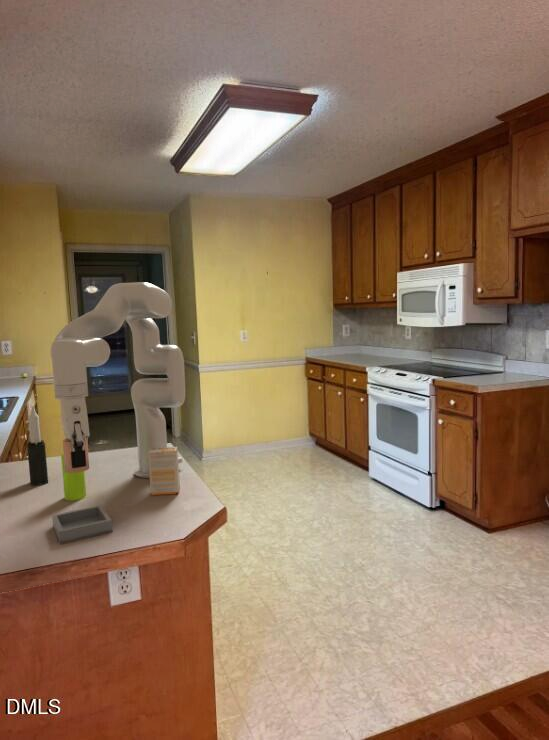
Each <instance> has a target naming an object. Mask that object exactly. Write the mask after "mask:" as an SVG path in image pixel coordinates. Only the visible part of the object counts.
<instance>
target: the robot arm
mask: <svg viewBox="0 0 549 740" xmlns="http://www.w3.org/2000/svg"><path fill="white" fill-rule="evenodd" d="M172 308H173V303H172V298H171V296H170V295H169V293H168V292H167V291H165V290H164V289H162V288H160V287H159V286H157V285H154V284H152V283H149V282H146V281H145V282H143V281H142V282H141V281H140V282H139V281H137V282H121V283H115V284H113V285H111V286H109V288H108V289H107V291H106V292H105V293H104V295H103V296H102V297H101V299H100V300H99V302H98V303H97V304H96V305H95V307H94V309H92V310H91V311H87V312H86V313H85V314H83V315H81V316H79V317H77V318H75V319H74V320H72V321H70V322H68V323H67V324H66V325H64V326H63V328H61V330H59V333H58V334H56V336H55V338H54V339H53V341H52V343H51V346H50V351H49V352H50V358H51V365H52V377H53V389H54V399H56V400H59V402H60V403H59V404H60V417H61V424H62V425H61V426H62V432H63V434H64V436H65V438H68V439H70V440H71V447H72V452H71V463H72V468H79V467H85V466H86V455H85V447H84V440H83V437H86V438H87V439H88V438H89V437H90V436H91V435H90V434H91V433H90V427H89V426H90V424H89V417H88V409H87V407H88V406H87V404H86V403H87V402H86V397H88V396H89V388H88V375H87V373H88V372H87V368H89V367H93V368H94V367H95V368H96V367H100V366H103V365H104V364H105V363H107V362H108V360H109V358H110V356H111V347H110V345H109V343H108V342H107V341H106V340H105V339H103V338H104V337H107V336H109V335H112V334H116V333H117V332H118V331H120V330H121V328H122V326H123V324H124V322H125V321H126V323H127V324H128V325H129V328H130V330H131V331H130V332H131V334H132V335H131V336H132V346H133V349H132V351H133V363H134V367H135V371H136V372H137V373H139V374H142V375H166V376H167V377H165V378H163V377H161V378H160V377H159V378H157V377H153V378H152V377H150V378H140V379H138V380H136V381H134V382H133V384H132V386H131V388H130V395H131V400H132V401H131V402H132V404H133V409H134V414H135V424H136V441H137V455H138V457H137V459H138V467H137V468H136V469H134V475H135V477H138V478H143V479H150V477H149V464H148V451H149V450H150V449H151V448H167V447H168V441H167V440H168V439H167V438H168V437H167V423H166V417H165V414H164V413H163V412H162V411H161V409H160V408H179V407H181V406H182V405H184V403H185V400H186V377H185V372H186V371H185V358H184V355H183V351H182V349H181V348H180V347H179V346H178V345H175V344H161V341H160V339H161V338H160V329H159V327H158V325H157V324H156V322H155V321H154V320H153V319H165V318H167V317H168V316H169V315H170V314H171V312H172ZM73 437H76V438H73ZM74 441H76V442H75V443H74ZM182 463H183V458H182V457H178V465H179V464H182Z"/></svg>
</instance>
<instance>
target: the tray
mask: <svg viewBox="0 0 549 740" xmlns="http://www.w3.org/2000/svg"><path fill="white" fill-rule="evenodd" d="M51 518H52V527H53V530H54V532H55V535H56V538H57V541H58V542H59V544H60V545H64V544H67V543H71V542H75V541H79V540H83V539H84V540H85V539H87V538H92V537H96V536H97V537H98V536H100V535H104V534H105V535H106V534H109V533H113V522H112V521H113V520H112V518H111V517H110V515H109V514H108V512H107V511H106V510H105V508H104V507H103V505H102V504H99V505H95V506H90V507H85V508H80V509H76V510H72V511H71V510H70V511H66V512H61V513H58V514H57V513H55V514H52V515H51Z"/></svg>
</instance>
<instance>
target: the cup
mask: <svg viewBox="0 0 549 740" xmlns="http://www.w3.org/2000/svg"><path fill="white" fill-rule="evenodd" d="M73 438H76V437H73ZM83 440H84V447H85V455H86V466H85V467H79V468H72V463H71V452H72V447H71V440H70V439H68V438H67V437H65V439H63V440H62V448H63V449H62V451H63V453H64V465H65V472H67V473H78V472H83V471H84V472H86V471H88V470H90V460H89V459H90V458H89V445H88V438H86V437H85V436H83ZM75 442H76V441H74V443H75ZM63 453H62V454H63Z"/></svg>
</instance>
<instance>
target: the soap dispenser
mask: <svg viewBox="0 0 549 740" xmlns="http://www.w3.org/2000/svg"><path fill="white" fill-rule="evenodd" d="M60 457H61V469H62V480H63V495H64V500H66V501H70V502H71V501H79V500H81V499H84V498H85V496H87V490H86V488H87V487H86V475H85V471H83V472H78V473H67V472H65V465H64V453H61V455H60Z"/></svg>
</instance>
